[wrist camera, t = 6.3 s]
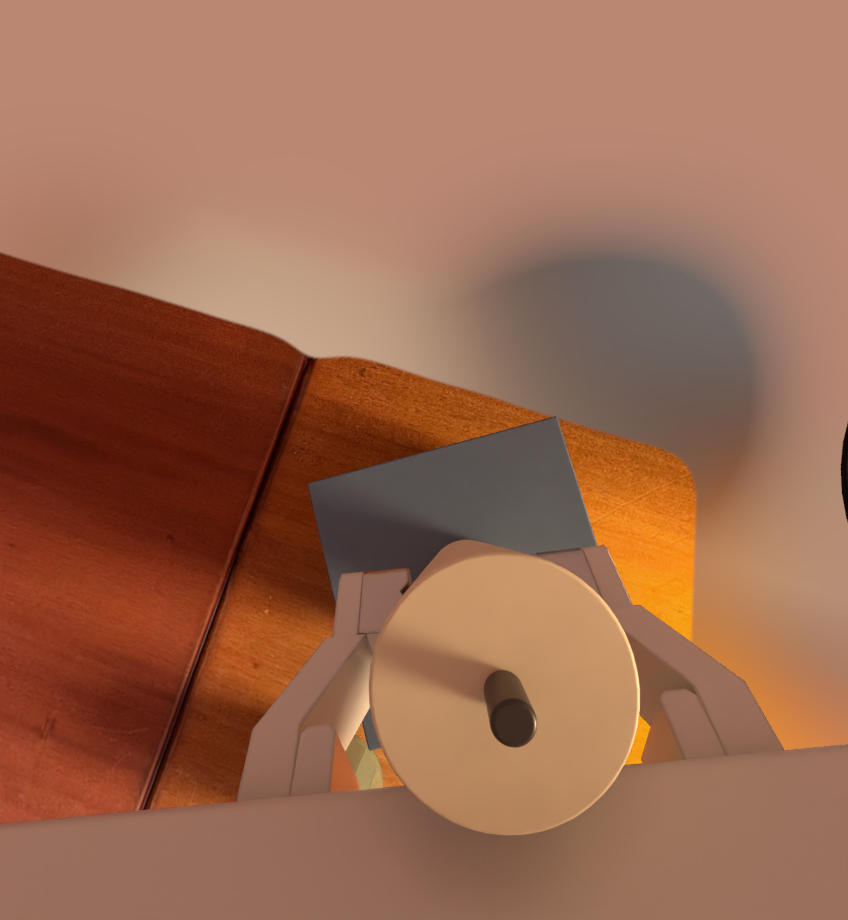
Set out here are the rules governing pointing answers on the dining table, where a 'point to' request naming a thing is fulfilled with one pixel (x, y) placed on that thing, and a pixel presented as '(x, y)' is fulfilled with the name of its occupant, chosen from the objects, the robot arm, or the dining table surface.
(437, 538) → the riser
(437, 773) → the taper
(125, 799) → the dining table surface
